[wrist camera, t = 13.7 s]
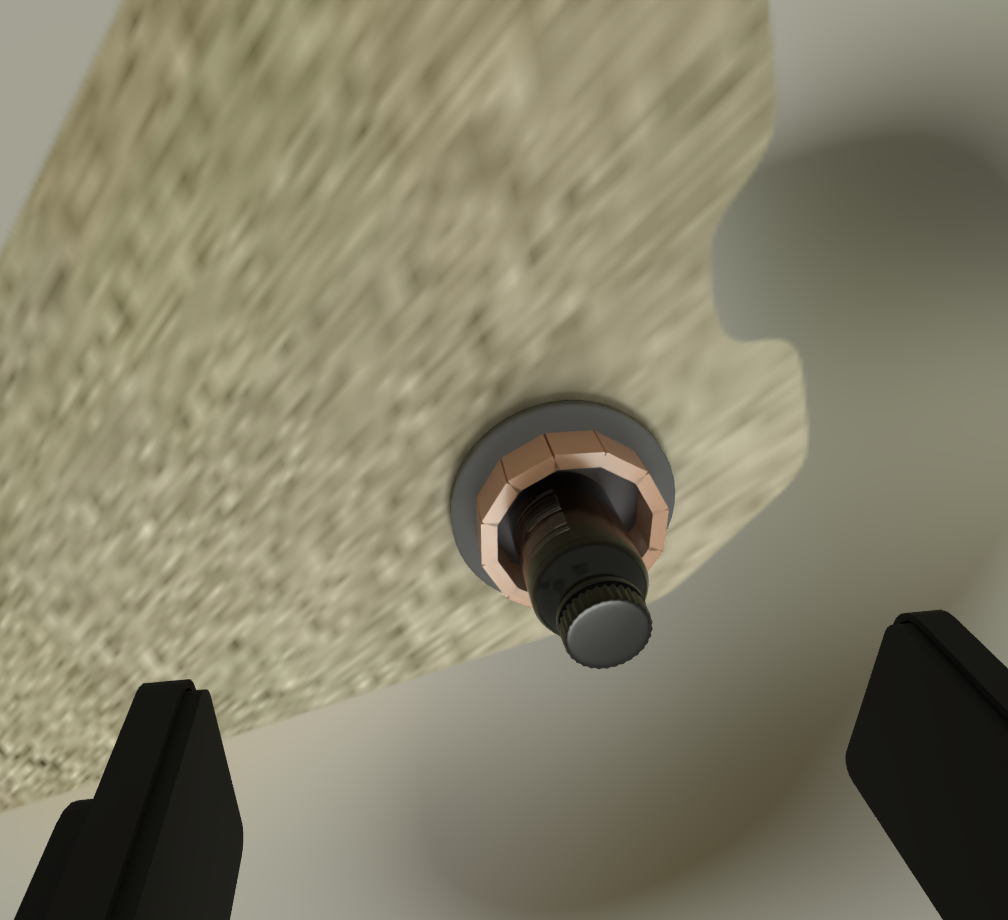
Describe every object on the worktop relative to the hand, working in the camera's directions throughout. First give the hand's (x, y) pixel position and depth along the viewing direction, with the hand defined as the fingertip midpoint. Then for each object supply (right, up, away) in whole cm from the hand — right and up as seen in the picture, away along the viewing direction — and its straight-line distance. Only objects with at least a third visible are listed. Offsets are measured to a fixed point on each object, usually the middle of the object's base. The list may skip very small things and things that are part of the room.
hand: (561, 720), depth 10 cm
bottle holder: (+3, +1, +39) cm, 39 cm away
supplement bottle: (+3, 0, +38) cm, 39 cm away
